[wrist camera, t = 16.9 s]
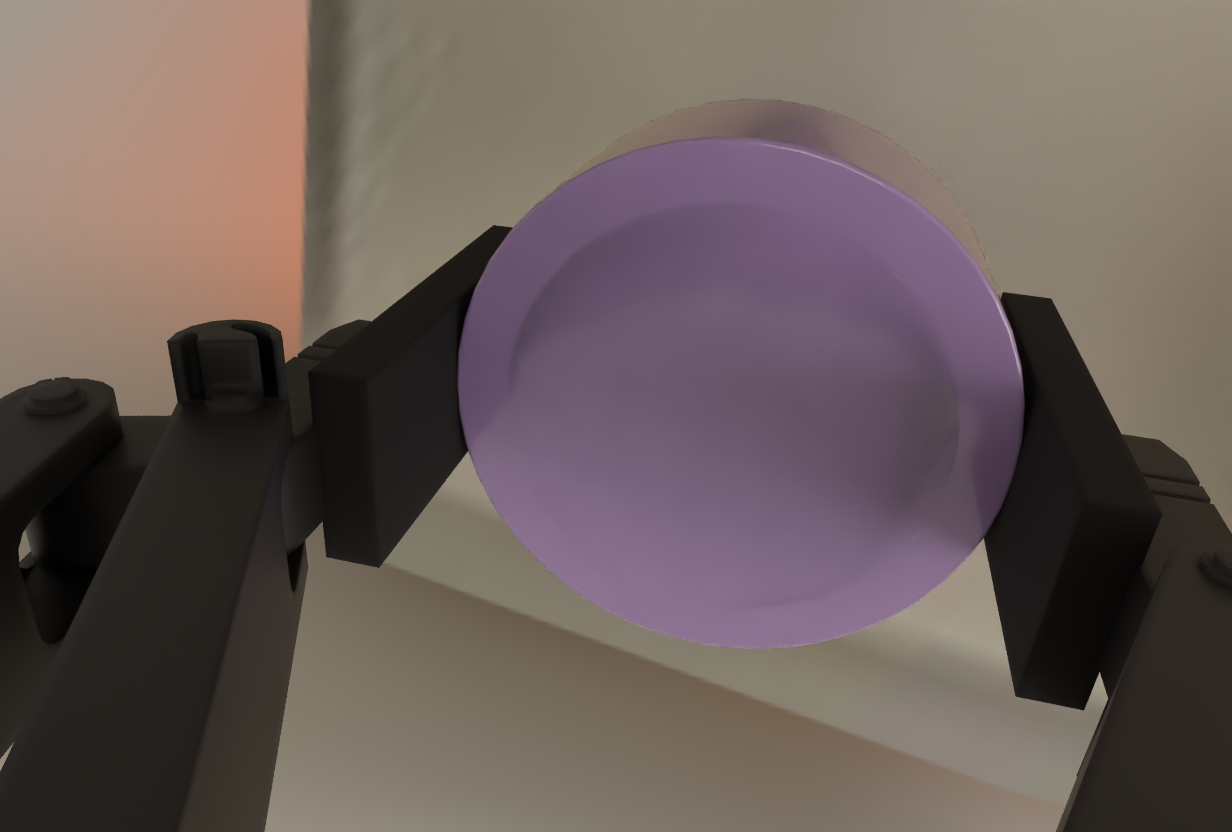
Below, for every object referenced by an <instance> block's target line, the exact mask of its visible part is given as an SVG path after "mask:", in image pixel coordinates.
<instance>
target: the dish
mask: <svg viewBox="0 0 1232 832" xmlns="http://www.w3.org/2000/svg"><path fill="white" fill-rule="evenodd" d="M457 391H458V403H459V414H460V419H461V423H462V428H463V432H464V437H465V441H466V445H467V448H468V451H469V454H470V456H471V459H472V462H473V465H474V467H475V470H476V473H477V475H478V477H479V479H480V481H481V483H482V485H483V487H484V489H485V491H486V493H487V495H488V497H489V499H490V501H491V503H492V504H493V506H494V507H495V509H496V510H497V512H498V513H499V515H500V516H501V518H502V519H503V521H504V522H505V524H506V525H507V527H508V528H509V529H510V530H511V532H512V533H513V534H514V535H515V536H516V538H517V539H518V540H519V541H520V542H521V544H522V545H523V546H524V547H525V548H526V549H527V551H528V552H529V553H530V554H531V555H532V556H533V557H535V558H536V559H537V560H538V561H539V562H540V563H541V564H542V565H543V566H544V567H545V568H546V569H547V570H548V571H549V572H550V573H551V574H553V575H554V576H555V577H557V578H558V579H559V580H560V581H562V582H563V583H564V584H566V585H567V586H568V587H569V588H571V589H572V590H573V591H575V592H576V593H578V594H579V595H581V596H582V597H584V598H586V599H587V600H589V601H590V602H592V603H594V604H595V605H597V606H599V607H600V608H602V609H604V610H606V611H608V612H610V613H612V614H614V615H616V616H618V617H620V618H622V619H624V620H626V621H628V622H630V623H633V624H635V625H638V626H641V627H643V628H646V629H649V630H652V631H654V632H657V633H660V634H663V635H667V636H670V637H674V638H678V639H682V640H686V641H690V642H694V643H701V644H707V645H714V646H720V647H730V648H750V649H765V648H783V647H794V646H800V645H806V644H813V643H819V642H824V641H828V640H831V639H835V638H838V637H842V636H846V635H849V634H853V633H856V632H858V631H861V630H863V629H866V628H868V627H871V626H873V625H875V624H878V623H880V622H883V621H885V620H887V619H889V618H891V617H892V616H894V615H896V614H898V613H900V612H901V611H903V610H905V609H907V608H909V607H910V606H912V605H914V604H915V603H917V602H918V601H919V600H921V599H922V598H924V597H925V596H926V595H928V594H929V593H930V592H932V591H933V590H934V589H936V588H937V587H939V586H940V585H941V584H942V583H943V582H944V581H945V580H946V579H947V578H948V577H949V576H950V575H951V574H953V573H954V572H955V571H956V570H957V569H958V568H959V567H960V566H961V565H962V564H963V563H964V562H965V561H966V559H967V558H968V557H969V556H970V554H971V553H972V552H973V551H974V549H975V548H976V547H977V545H978V544H979V543H980V542H981V540H982V539H983V538H984V537H985V535H986V534H987V532H988V530H989V529H990V527H991V525H992V523H993V522H994V520H995V518H996V516H997V515H998V513H999V511H1000V509H1001V508H1002V506H1003V504H1004V501H1005V499H1006V496H1007V493H1008V491H1009V488H1010V485H1011V482H1012V479H1013V476H1014V473H1015V469H1016V466H1017V462H1018V458H1019V454H1020V450H1021V446H1022V442H1023V432H1024V416H1025V395H1024V384H1023V374H1022V366H1021V362H1020V358H1019V354H1018V350H1017V346H1016V342H1015V338H1014V335H1013V331H1012V328H1011V325H1010V323H1009V320H1008V317H1007V315H1006V312H1005V309H1004V307H1003V304H1002V301H1001V299H1000V296H999V293H998V291H997V288H996V285H995V283H994V280H993V277H992V275H991V272H990V269H989V267H988V264H987V261H986V259H985V256H984V254H983V251H982V249H981V247H980V244H979V242H978V240H977V237H976V235H975V233H974V230H973V228H972V226H971V225H970V223H969V222H968V220H967V218H966V217H965V215H964V213H963V212H962V210H961V209H960V207H959V205H958V204H957V202H956V201H955V199H954V198H953V197H952V196H951V194H950V193H949V192H948V191H947V190H946V188H945V187H944V186H943V185H942V184H941V182H940V181H939V180H938V179H937V178H936V177H935V175H934V174H933V173H932V172H931V171H929V170H928V169H927V168H926V167H925V166H924V165H923V164H922V163H920V162H919V161H918V160H917V159H916V158H915V157H914V156H913V155H911V154H910V153H909V152H908V151H907V150H905V149H904V148H902V147H901V146H899V145H898V144H896V143H895V142H893V141H892V140H890V139H889V138H887V137H886V136H884V135H883V134H881V133H880V132H878V131H876V130H874V129H872V128H870V127H868V126H865V125H863V124H861V123H859V122H857V121H855V120H853V119H851V118H849V117H846V116H843V115H840V114H837V113H834V112H831V111H827V110H824V109H821V108H818V107H815V106H810V105H805V104H799V103H793V102H787V101H781V100H762V99H738V100H728V101H719V102H709V103H705V104H701V105H697V106H693V107H689V108H685V109H681V110H677V111H674V112H672V113H669V114H667V115H664V116H662V117H659V118H656V119H654V120H651V121H649V122H646V123H645V124H643V125H641V126H639V127H637V128H636V129H634V130H632V131H630V132H629V133H627V134H625V135H623V136H621V137H620V138H618V139H617V140H615V141H614V142H613V143H611V144H610V145H609V146H608V147H606V148H605V149H604V150H602V151H601V152H600V153H598V154H597V155H596V156H594V157H593V158H592V159H591V160H589V161H588V162H587V163H586V164H585V165H583V166H582V167H581V168H580V169H579V170H577V171H576V172H575V173H574V174H572V175H571V176H570V177H569V178H568V179H566V180H565V181H564V182H563V183H562V184H560V185H559V186H558V187H557V188H556V189H554V190H553V191H552V192H551V193H549V194H548V195H547V196H546V197H545V198H543V199H542V200H541V201H540V202H539V203H537V204H536V205H535V206H534V207H533V208H532V209H531V210H530V211H529V212H528V213H527V214H526V215H525V216H524V217H523V218H522V219H521V220H520V221H519V222H518V223H517V224H516V225H515V227H514V228H513V229H512V230H511V231H510V232H509V234H508V235H507V236H506V238H505V239H504V240H503V242H502V243H501V245H500V246H499V247H498V249H497V250H496V251H495V253H494V254H493V256H492V257H491V258H490V260H489V262H488V264H487V266H486V268H485V270H484V272H483V274H482V276H481V278H480V279H479V281H478V283H477V285H476V287H475V290H474V293H473V295H472V298H471V301H470V304H469V307H468V310H467V313H466V316H465V318H464V323H463V329H462V334H461V339H460V344H459V349H458V367H457Z"/></svg>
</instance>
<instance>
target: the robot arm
mask: <svg viewBox="0 0 1232 832" xmlns="http://www.w3.org/2000/svg"><path fill="white" fill-rule="evenodd" d="M512 229H513V228H511V227H504V226H496V225H493V226H492V227H491V228H490V229H488V230H487V231H486V232H484V233H483V234H482V235H481V236H479V237H478V238H477V239H476V240H474V241H473V242H472V243H471V244H469V245H468V246H467V247H465V248H464V249H463V250H462V251H460V252H459V253H458V254H457V255H455V256H454V257H453V258H452V259H450V260H449V261H448V262H446V263H445V264H444V265H443V266H441V267H440V268H439V269H438V270H436V271H435V272H434V273H433V274H431V275H430V276H429V277H427V278H426V279H425V280H424V281H422V282H421V283H420V284H419V285H417V286H416V287H415V288H414V289H412V290H411V291H410V292H408V293H407V294H406V295H405V296H403V297H402V298H401V299H400V300H398V301H397V302H396V303H395V304H393V305H392V306H391V307H389V308H388V309H387V310H386V311H384V312H383V313H382V314H381V315H379V316H378V317H377V318H376V319H374V320H373V321H365V320H356V321H353V322H351V323H348V324H345V325H342V326H340V327H337V328H334V329H331V330H330V331H328V332H327V333H326V334H324V335H323V336H322V337H320V338H319V339H318V340H316V341H315V342H313V345H312V346H308V347H307V348H305V349H304V350H303V351H301V352H300V353H299V354H298V357H293V358H292V359H291V360H289V361H288V362H287V363H285V358H284V349H283V340H282V335H281V331H279V330H278V329H276V328H275V327H273V326H272V325H269V324H265V323H261V322H258V321H249V320H224V321H212V322H208V323H203V324H199V325H195V326H191V327H189V328H186V329H184V330H182V331H179V332H177V333H176V334H175V335H174V336H172V338H170V339H169V340H168V341H167V343H168V349H169V355H170V359H171V366H172V372H173V378H174V383H175V389H176V395H177V400H178V403H177V405H176V407H175V409H174V411H173V413H172V415H171V416H119V412H118V407H117V402H116V397H115V393H114V390H113V388H112V387H110V386H109V385H107V384H105V383H104V382H100V381H95V380H89V379H70V378H69V377H62V378H55V380H52V379H46V380H41V381H39V382H37V383H36V384H34V385H30V386H27V387H23V388H20V389H18V390H16V391H14V392H12V393H10V394H8V395H6V396H4V397H3V398H1V399H0V759H1V757H2V756H3V755H4V753H5V752H6V751H7V750H8V749H9V747H10V746H11V745H12V743H14V744H13V746H12V748H11V750H10V753H9V755H8V757H7V759H6V761H5V763H4V765H3V767H2V769H1V771H0V832H264V831H265V825H266V819H267V812H268V807H269V801H270V794H271V789H272V782H273V777H274V770H275V764H276V758H277V752H278V746H279V740H280V734H281V728H282V722H283V716H284V709H285V703H286V698H287V692H288V686H289V679H290V673H291V667H292V661H293V655H294V649H295V643H296V636H297V631H298V625H299V619H300V613H301V606H302V601H303V595H304V589H305V583H306V576H307V571H308V562H307V553H306V545H305V539H306V538H307V537H308V536H309V535H310V534H311V533H312V532H313V531H314V530H315V529H316V528H317V527H318V525H319V524H320V523H321V522H322V521H323V529H324V539H325V548H326V557H329V558H334V559H339V560H344V561H349V562H353V563H359V564H364V565H368V566H373V567H378V568H379V567H380V566H381V565H382V563H383V562H384V561H385V559H386V558H387V557H388V555H389V554H390V553H391V551H392V550H393V549H394V548H395V546H396V545H397V544H398V542H399V541H400V540H401V538H402V537H403V536H404V534H405V533H406V532H407V530H408V529H409V528H410V527H411V525H412V524H413V523H414V521H415V520H416V519H417V517H418V516H419V515H420V513H421V512H422V511H423V509H424V508H425V507H426V506H427V504H428V503H429V502H430V500H431V499H432V498H433V496H434V495H435V494H436V492H437V491H438V490H439V488H440V487H441V486H442V485H443V483H444V482H445V481H446V479H447V478H448V477H449V475H450V474H451V473H452V471H453V470H454V469H455V467H456V466H457V465H458V464H459V462H460V461H461V460H462V458H463V457H464V456H465V454H466V453H467V452H468V448H467V445H466V441H465V437H464V432H463V428H462V423H461V419H460V414H459V403H458V391H457V367H458V349H459V344H460V339H461V334H462V329H463V323H464V318H465V316H466V313H467V310H468V307H469V304H470V301H471V298H472V295H473V293H474V290H475V287H476V285H477V283H478V281H479V279H480V278H481V276H482V274H483V272H484V270H485V268H486V266H487V264H488V262H489V260H490V258H491V257H492V256H493V254H494V253H495V251H496V250H497V249H498V247H499V246H500V245H501V243H502V242H503V240H504V239H505V238H506V236H507V235H508V234H509V232H510V231H511V230H512ZM1001 301H1002V304H1003V307H1004V309H1005V312H1006V315H1007V317H1008V320H1009V323H1010V325H1011V328H1012V331H1013V335H1014V338H1015V342H1016V346H1017V350H1018V354H1019V358H1020V362H1021V366H1022V374H1023V384H1024V395H1025V416H1024V432H1023V442H1022V446H1021V450H1020V454H1019V458H1018V462H1017V466H1016V469H1015V473H1014V476H1013V479H1012V482H1011V485H1010V488H1009V491H1008V493H1007V496H1006V499H1005V501H1004V504H1003V506H1002V508H1001V509H1000V511H999V513H998V515H997V516H996V518H995V520H994V522H993V523H992V525H991V527H990V529H989V530H988V532H987V534H986V535H985V537H984V541H985V546H986V551H987V556H988V561H989V566H990V571H991V576H992V581H993V586H994V591H995V596H996V601H997V606H998V611H999V616H1000V621H1001V626H1002V631H1003V636H1004V641H1005V646H1006V651H1007V656H1008V661H1009V666H1010V671H1011V676H1012V681H1013V686H1014V691H1015V696H1016V697H1021V698H1026V699H1031V700H1036V701H1041V702H1046V703H1051V704H1056V705H1060V706H1065V707H1070V708H1075V709H1080V710H1084V709H1085V707H1086V704H1087V702H1088V699H1089V697H1090V694H1091V692H1092V689H1093V687H1094V684H1095V682H1096V679H1097V677H1098V674H1099V672H1100V674H1101V677H1102V680H1103V683H1104V687H1105V690H1106V693H1107V696H1108V701H1107V703H1106V706H1105V708H1104V711H1103V713H1102V715H1101V718H1100V720H1099V723H1098V725H1097V728H1096V730H1095V732H1094V735H1093V737H1092V740H1091V742H1090V744H1089V747H1088V749H1087V752H1086V754H1085V757H1084V759H1083V761H1082V764H1081V766H1080V769H1079V771H1078V773H1077V779H1076V781H1075V784H1074V787H1073V789H1072V792H1071V794H1070V797H1069V799H1068V802H1067V805H1066V807H1065V810H1064V812H1063V815H1062V818H1061V820H1060V823H1059V825H1058V828H1057V830H1056V832H1232V534H1231V532H1230V530H1229V529H1228V527H1227V526H1226V524H1225V522H1224V521H1223V519H1222V517H1221V516H1220V514H1219V513H1218V511H1217V509H1216V508H1215V506H1214V504H1210V498H1209V496H1208V495H1207V493H1206V491H1205V490H1204V488H1203V487H1202V486H1199V484H1200V482H1199V480H1198V478H1197V477H1196V475H1195V474H1194V472H1193V470H1192V469H1191V467H1190V465H1189V464H1188V462H1187V461H1186V460H1185V459H1183V458H1182V457H1181V456H1180V455H1178V454H1177V453H1176V452H1174V451H1173V450H1172V449H1170V448H1169V447H1168V446H1166V445H1165V444H1164V443H1162V442H1161V441H1160V440H1156V439H1149V438H1143V437H1136V436H1130V435H1123V434H1121V432H1120V431H1119V429H1118V427H1117V425H1116V423H1115V421H1114V419H1113V417H1112V415H1111V413H1110V411H1109V409H1108V407H1107V405H1106V403H1105V402H1104V400H1103V398H1102V396H1101V394H1100V392H1099V390H1098V388H1097V386H1096V384H1095V382H1094V380H1093V378H1092V376H1091V375H1090V373H1089V371H1088V369H1087V367H1086V365H1085V363H1084V361H1083V359H1082V357H1081V355H1080V353H1079V351H1078V349H1077V347H1076V346H1075V344H1074V342H1073V340H1072V338H1071V336H1070V334H1069V332H1068V330H1067V328H1066V326H1065V324H1064V322H1063V320H1062V318H1061V317H1060V315H1059V313H1058V311H1057V309H1056V307H1055V305H1054V303H1053V301H1052V299H1050V298H1042V297H1035V296H1027V295H1020V294H1012V293H1005V292H1003V293H1002V297H1001ZM24 530H25V531H26V534H27V538H28V542H29V545H30V549H31V552H30V553H29V554H28V555H26V556H25V558H23V559H22V560H21V561H20V562H19V554H18V548H19V545H20V541H21V537H22V534H23V532H24ZM14 741H15V742H14Z"/></svg>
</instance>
